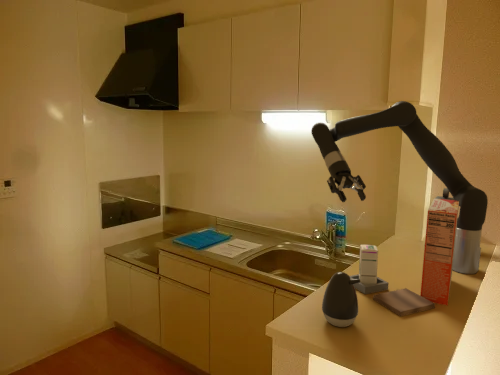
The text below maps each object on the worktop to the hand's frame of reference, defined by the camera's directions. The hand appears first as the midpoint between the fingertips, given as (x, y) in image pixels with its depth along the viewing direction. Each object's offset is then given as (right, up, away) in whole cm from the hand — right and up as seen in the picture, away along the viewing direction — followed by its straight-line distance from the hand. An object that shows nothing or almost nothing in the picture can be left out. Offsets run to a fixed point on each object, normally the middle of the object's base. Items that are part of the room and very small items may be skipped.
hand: (354, 200), depth 138 cm
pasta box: (+27, -31, -6) cm, 42 cm away
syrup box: (+3, -31, -4) cm, 31 cm away
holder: (+3, -30, -4) cm, 31 cm away
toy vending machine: (+51, -23, +41) cm, 69 cm away
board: (+11, -33, -17) cm, 38 cm away
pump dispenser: (-12, -35, -28) cm, 46 cm away
